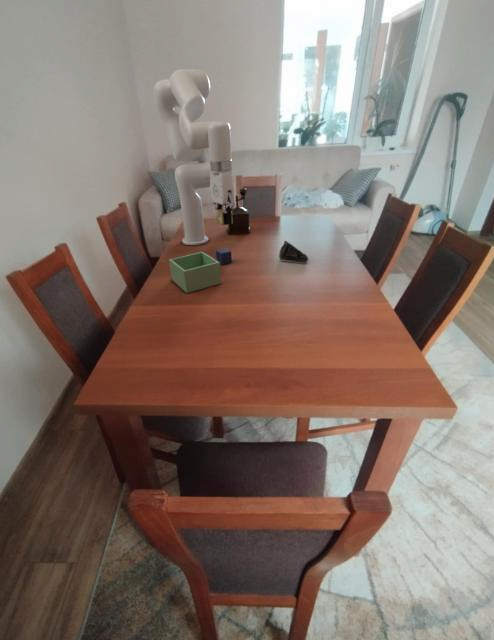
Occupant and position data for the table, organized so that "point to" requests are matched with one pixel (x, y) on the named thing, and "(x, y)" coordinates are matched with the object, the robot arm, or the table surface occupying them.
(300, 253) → the chocolate cake
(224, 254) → the navy block
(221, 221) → the birch block
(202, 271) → the bin
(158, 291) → the table surface
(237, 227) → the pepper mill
